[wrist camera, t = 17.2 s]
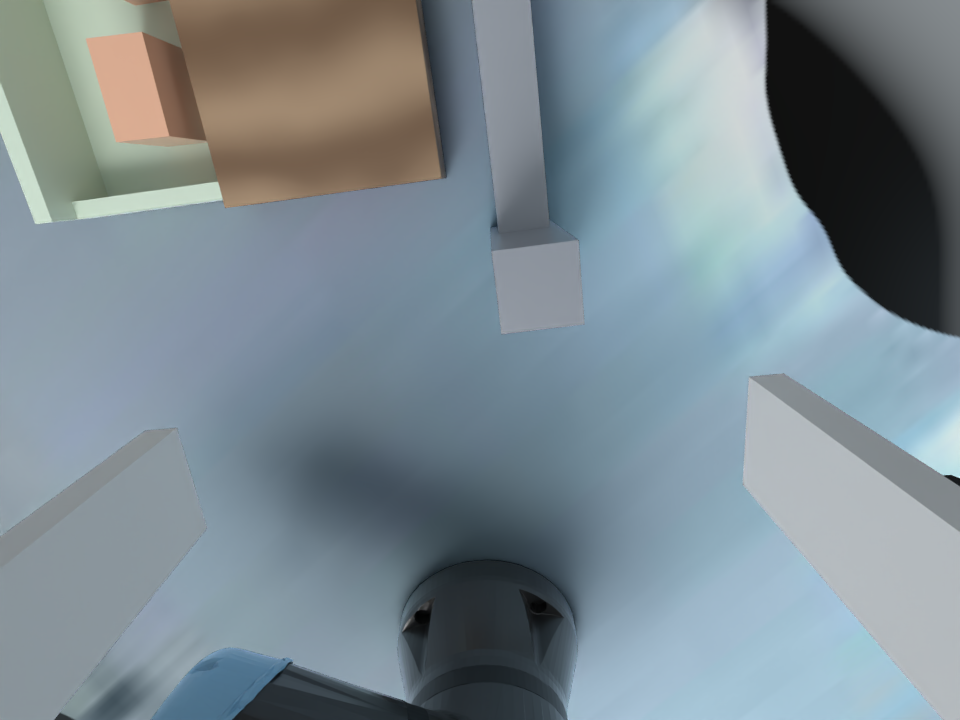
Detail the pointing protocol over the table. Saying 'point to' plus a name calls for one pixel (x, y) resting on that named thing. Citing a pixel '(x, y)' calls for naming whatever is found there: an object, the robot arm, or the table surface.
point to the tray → (85, 116)
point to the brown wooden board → (311, 95)
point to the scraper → (522, 179)
